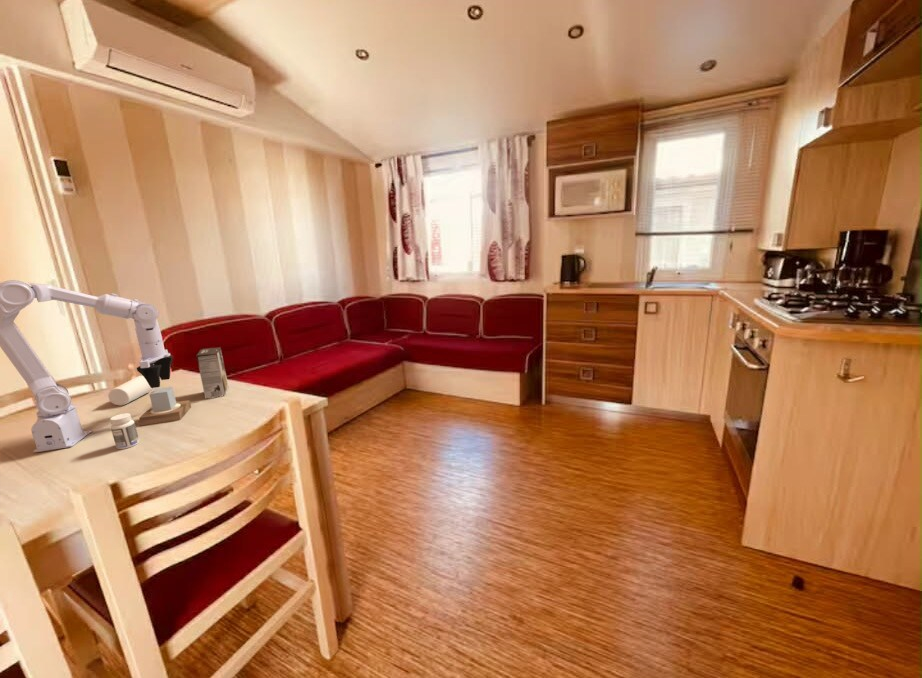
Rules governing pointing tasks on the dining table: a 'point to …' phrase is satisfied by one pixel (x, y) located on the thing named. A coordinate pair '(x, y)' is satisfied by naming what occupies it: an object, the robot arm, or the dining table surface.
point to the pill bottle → (124, 431)
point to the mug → (129, 391)
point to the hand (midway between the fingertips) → (160, 383)
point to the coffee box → (212, 372)
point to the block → (163, 399)
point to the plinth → (165, 414)
